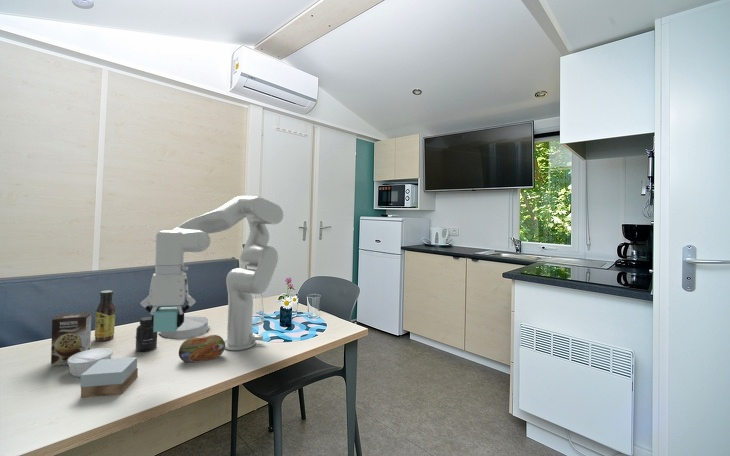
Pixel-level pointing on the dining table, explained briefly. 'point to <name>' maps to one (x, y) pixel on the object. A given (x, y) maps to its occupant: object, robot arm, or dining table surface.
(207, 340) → the tin
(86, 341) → the coffee box
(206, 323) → the food container
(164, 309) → the teal block
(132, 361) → the slate tile
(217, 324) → the dining table surface
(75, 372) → the ramekin
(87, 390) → the walnut tile
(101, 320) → the sauce bottle
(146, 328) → the supplement bottle
